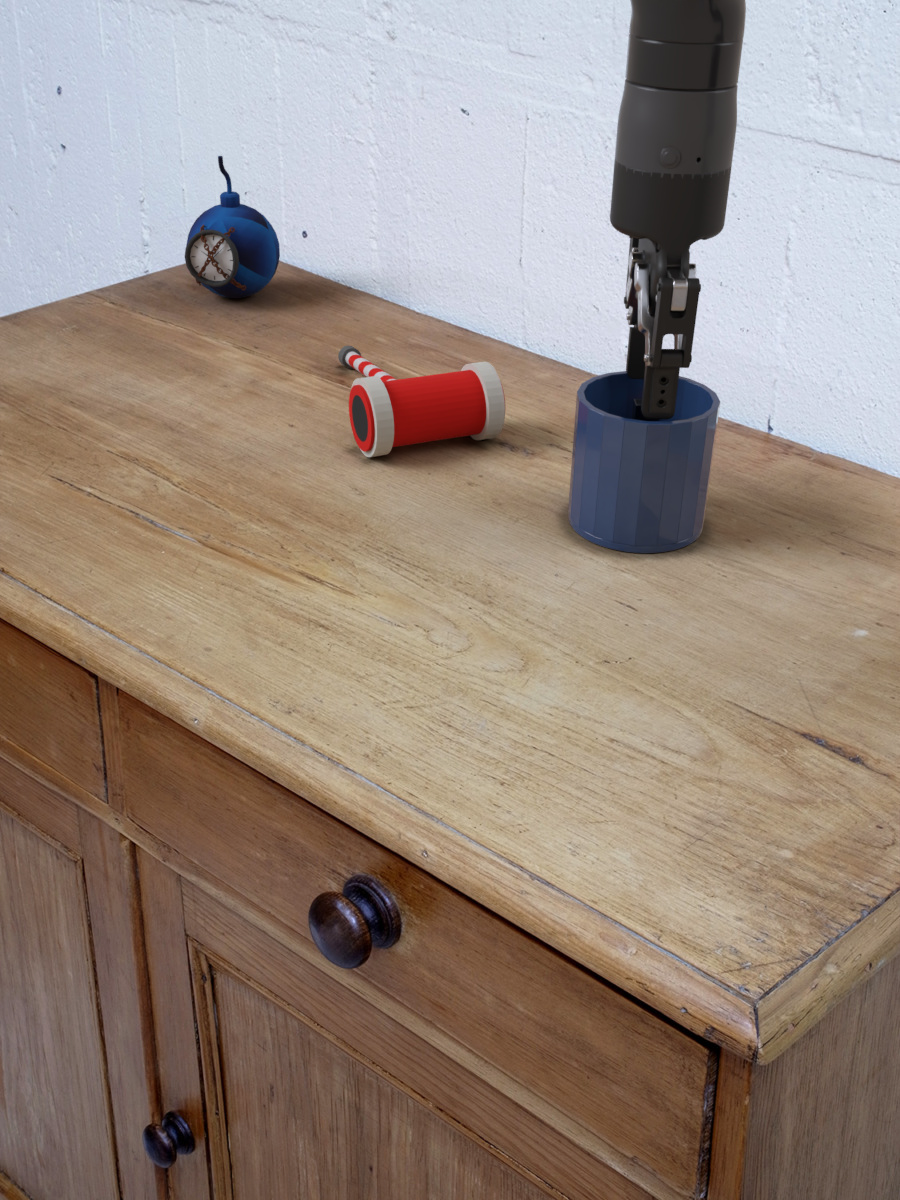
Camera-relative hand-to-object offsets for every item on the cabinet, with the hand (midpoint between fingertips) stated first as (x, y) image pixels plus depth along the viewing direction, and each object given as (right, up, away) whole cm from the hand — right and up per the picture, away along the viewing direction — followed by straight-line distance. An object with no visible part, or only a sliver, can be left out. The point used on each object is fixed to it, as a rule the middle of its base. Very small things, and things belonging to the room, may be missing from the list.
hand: (648, 396), depth 93 cm
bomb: (-37, +18, +49) cm, 64 cm away
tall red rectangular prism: (0, -8, +5) cm, 9 cm away
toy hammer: (-19, +1, +21) cm, 28 cm away
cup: (0, -9, +5) cm, 10 cm away
